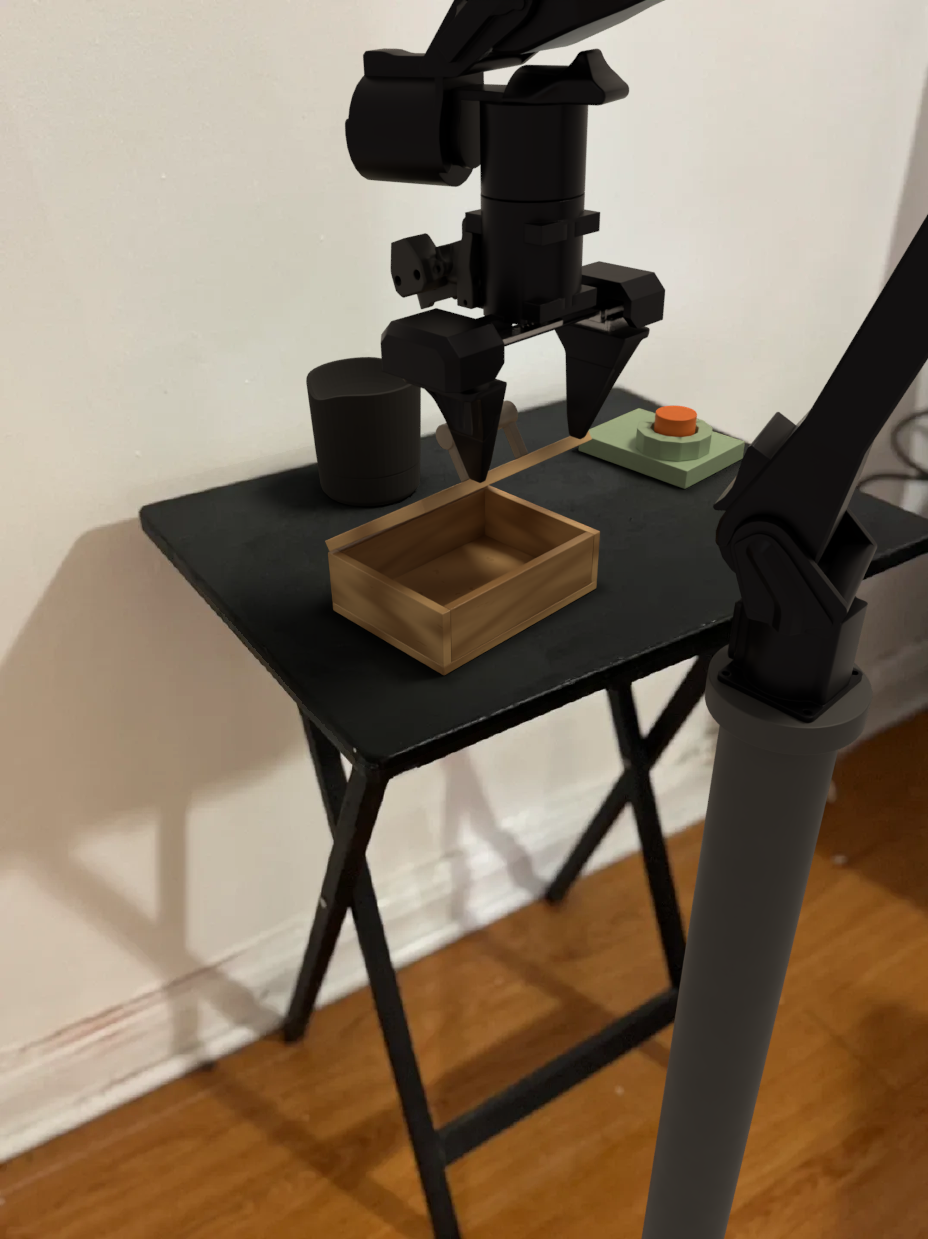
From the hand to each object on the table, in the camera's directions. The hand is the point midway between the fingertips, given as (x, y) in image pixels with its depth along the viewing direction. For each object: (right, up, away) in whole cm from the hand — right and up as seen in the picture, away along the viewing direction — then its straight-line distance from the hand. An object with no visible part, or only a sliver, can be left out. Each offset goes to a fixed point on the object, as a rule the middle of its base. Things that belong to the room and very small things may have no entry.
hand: (529, 458), depth 65 cm
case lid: (-4, -2, +6) cm, 7 cm away
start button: (+15, +7, +27) cm, 32 cm away
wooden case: (-4, -9, +10) cm, 14 cm away
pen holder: (-12, +1, +26) cm, 29 cm away
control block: (+14, +5, +31) cm, 34 cm away
